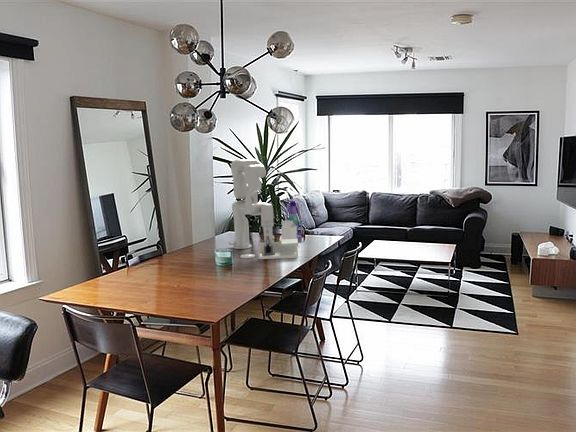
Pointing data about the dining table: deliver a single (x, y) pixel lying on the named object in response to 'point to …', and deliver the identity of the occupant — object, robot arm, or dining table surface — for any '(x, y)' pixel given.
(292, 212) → the lantern
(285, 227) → the milk carton
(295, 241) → the cover
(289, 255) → the frame with rectangular opening
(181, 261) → the dining table surface
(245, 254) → the white flat disc
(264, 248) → the block
